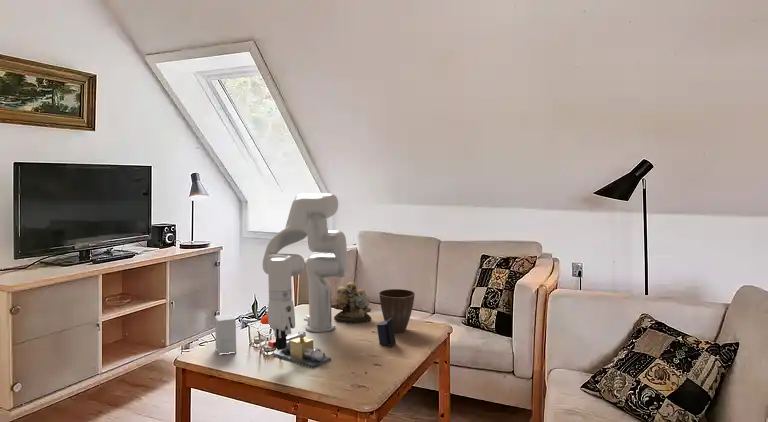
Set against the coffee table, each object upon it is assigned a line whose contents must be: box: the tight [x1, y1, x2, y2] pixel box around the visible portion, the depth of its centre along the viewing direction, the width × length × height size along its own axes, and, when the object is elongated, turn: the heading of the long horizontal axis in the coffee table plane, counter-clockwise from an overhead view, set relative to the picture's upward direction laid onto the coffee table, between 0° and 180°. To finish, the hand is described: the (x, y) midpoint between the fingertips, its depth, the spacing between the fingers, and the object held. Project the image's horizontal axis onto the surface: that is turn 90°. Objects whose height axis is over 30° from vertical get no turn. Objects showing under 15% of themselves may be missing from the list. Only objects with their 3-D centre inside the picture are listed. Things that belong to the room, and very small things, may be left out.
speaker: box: [376, 318, 397, 349], centre depth 204 cm, size 8×6×10 cm
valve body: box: [273, 336, 332, 369], centre depth 189 cm, size 20×9×8 cm, turn 53°
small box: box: [214, 313, 237, 355], centre depth 197 cm, size 8×6×13 cm
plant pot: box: [378, 288, 416, 334], centre depth 222 cm, size 15×15×16 cm
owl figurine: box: [331, 281, 372, 324], centre depth 238 cm, size 18×12×17 cm, turn 87°
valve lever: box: [267, 331, 307, 349], centre depth 184 cm, size 3×15×2 cm, turn 141°
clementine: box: [259, 313, 269, 324], centre depth 223 cm, size 8×7×7 cm
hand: (281, 348), depth 178 cm, fingers closed
